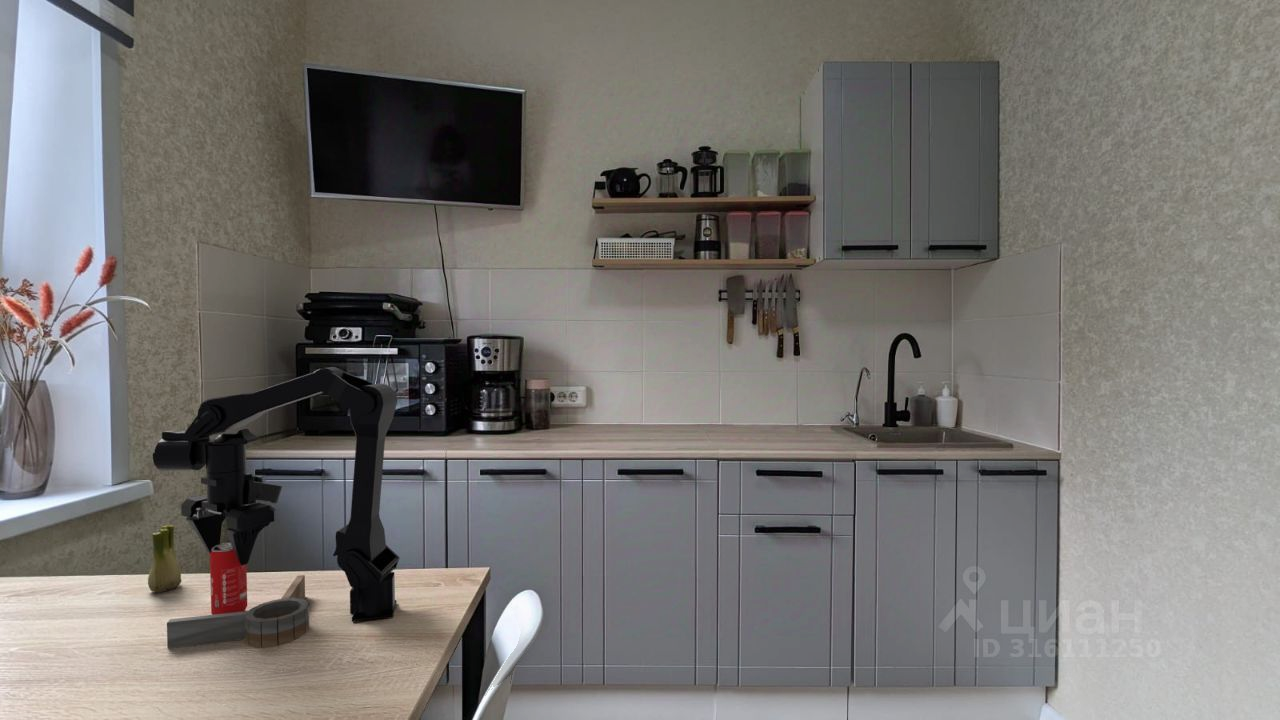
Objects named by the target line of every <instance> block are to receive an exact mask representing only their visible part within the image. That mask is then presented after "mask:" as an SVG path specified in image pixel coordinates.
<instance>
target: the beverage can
mask: <svg viewBox="0 0 1280 720" xmlns="http://www.w3.org/2000/svg"><path fill="white" fill-rule="evenodd" d="M211 550H212V551H211V553H210V554H209V569H210V570H209V574H210V576H209V577H210V582H209V583H210V611H211V612H210V614H211V615H215V614H224V613H234V612H243V611H246V609H247V607H248V579H247V578H248V576H247V575H248V572H247V568H248V567H247V564H245V565H240V564H239V561H238V559H237V557H236V554H235V552H234V549H233V547H232V544H231V542H223V543H220V544H219V545H216V546H214V547H213V548H212V549H211Z"/></svg>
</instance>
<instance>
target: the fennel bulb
mask: <svg viewBox="0 0 1280 720" xmlns="http://www.w3.org/2000/svg"><path fill="white" fill-rule="evenodd" d="M174 533H175V526H174V525H173V524H171V525H170V524H169V525H162V526H160V530H159V532H153V533H152V544H153V545H152V547H153V548H152V549H153V562H152V565H151V567H150V571H149V573H148V577H147V585H148V588H149V590H150V591H151V592H153V593H161V592H168V591H170V590H174V589H176V588H178V587H179V586H180V584H181V583H182V574H181V570H180V567H179V564H178V560H177V556H176V553H175V546H174V544H175V543H174V540H175V538H174V537H175V534H174Z"/></svg>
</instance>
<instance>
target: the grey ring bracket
mask: <svg viewBox="0 0 1280 720" xmlns="http://www.w3.org/2000/svg"><path fill="white" fill-rule="evenodd" d="M305 581H306V575H305V574H303V575H302V574H301V575H297V576H296V577H295V579H294V580H293V581H292V582H291V584H290V586H289V587H288V588H287V590H286V591H285V593H284V594H283V595H282V596H281V598H279V599H273V600H271V601H270V600H269V601H266V602H262V603H260V604H258V605H255V606H254V607H251V608H250V609H248V610H245V611H243V612H234V613H224V614H215V615H212V614H208V615H207V614H205V615H198V616H197V615H196V616H190V617H180V618H179V617H178V618H171V619H169V620H168V621H167V622H166V642H167V643H166V644H167V645H166V646H167V647H166V648H167V649H172V648H182V647H190V646H198V645H208V644H215V643H224V642H232V641H241V640H245V642H246V643H247V645H248V646H249V647H256V648H267V647H276V646H280V645H281V646H282V645H284V644H286V643H290V642H292V641H296V640H297V639H299V638H301V637H302V636H304V635H305V634H307V631H308V630H309V628H310V620H309V619H310V615H309V614H310V612H309V610H310V609H309V602H308V600H305V597H306V582H305Z"/></svg>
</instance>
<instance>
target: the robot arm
mask: <svg viewBox="0 0 1280 720" xmlns="http://www.w3.org/2000/svg"><path fill="white" fill-rule="evenodd" d="M321 394H326V395H327V396H329V397H330V398H331V399H332V400H333V401H335V402H336V403H338V404H340V405H342V406H343V407H346V408H348V411H349V417H350V418H349V419H350V424H351V427H352V429H353V431H354V434H355V453H354V454H355V455H354V466H353V478H352V479H353V480H352V493H351V503H350V506H351V507H350V517H349V521H348V523H347V524H346V525H344V526H343V527H341V528H339V530H337V531H336V533H335V550H334V551H333V552H334V553H333V555H332V556H333V557H336V556H337V557H336V564H337V566H338V567H339V568H340V569H341V570H342V572H344V573H345V578H346V579H347V582H348V583H349V587H351V588H350V590H349V613H350V615H351V622H353V623H355V622H363V621H372V620H373V621H374V620H381V619H389V618H393V617H394V615H395V614H394V613H395V610H396V607H397V600H396V594H395V593H396V592H395V590H396V589H395V588H396V587H395V585H396V584H395V581H396V580H395V572H394V570H396V569H397V568H398V567H397V566H398V564H399V562H400V559H401V558H400V556H399V555H397V553H395V551H393V550H392V549H391V548H390V547H389V546H388V545H387V544H386V543H387V542H386V534H385V528H384V525H383V522H382V521H381V517H380V509H381V508H380V507H381V495H382V494H381V493H382V483H383V482H382V481H383V468H384V467H383V466H384V457H385V456H384V455H385V454H384V453H385V443H386V436H387V433H388V431H389V428H390V427H391V423H392V421H393V420H394V416H395V413H396V407H397V404H398V395H397V392H396V391H395V390H394V389H393V387H392V386H390V385H388V384H385V383H373V382H371V381H369V380H367V379H364V378H362V377H359V376H356V375H354V374H352V373H351V374H350V373H348V372H346V371H344V370H342V369H340V368H338V367H335V366H332V367H321V368H318V369H316V370H315V371H313V372H310V373H307V374H304V375H301V376H298V377H295V378H292V379H289V380H285V381H283V382H280V383H277V384H275V385H274V384H273V385H271V386H269V387H268V386H267V387H265V388H262V389H258V390H256V391H253V392H249V393H248V392H247V393H240V394H235V395H234V394H233V395H227V396H220V397H215V398H214V397H213V398H208V399H206V400H204V401H202V402H201V403H200V404H199V408H198V410H197V415H196V416H195V418H194V420H193V421H192V422H191V423H190V425H189V426H188V427H187V429H186V430H184V431H183V430H177V429H175V430H174V429H172V430H166V431H162V432H161V439H160V440H159V441H158V442H157V444H156V445H155V449H154V452H152V461H153V464H154V467H155V468H156V469H157V470H159V471H161V472H163V471H164V472H165V471H166V472H169V471H175V472H176V471H200V470H202V469H203V468H204V467H205V476H202V477H200V484H204V485H206V494H204V495H197V496H193V497H189V498H186V499H185V500H184V501H183V502H182V503H181V506H180V511H181V513H180V514H181V516H183V517H186V518H185V521H186V522H188V524H189V525H190V526H191V528H192V530H193V531H194V532H195V534H196V535H197V536H198V538H199V539H200V541H201V543H202V545H203V546H204V547H205V549H206V551H207V552H208V554H209V555H210V553H211V551H212V550H211V549H212V548H213V547H214V546H216V545H219V544H221V538H222V526H223V522H224V521H225V524H226V525H227V527H228V528H225V531H226V534H227V536H228V539H229V541H230V542H231V544H232V547H233V549H234V552H235V554H236V557H237V559H238V561H239V564H240V565H245V564H246V565H248V563H249V561H250V557H251V555H252V553H253V550H254V547H255V543H256V541H257V538H258V536H259V534H260V533H261V531H263V529H264V528H266V527H268V526H270V525H271V523H273V522H275V521H276V520H277V519H276V518H277V517H276V511H277V510H276V508H274V507H273V506H271V505H270V504H278V501H279V499H280V495H281V491H282V489H283V485H278V484H273V483H268V482H263V477H262V476H258V475H253V474H252V473H248V472H247V461H246V460H247V452H246V451H247V450H246V448H247V447H246V445H248V444H251V443H255V442H258V441H259V440H260V438H259V437H258V436H257V435H256V434H254V433H252V432H251V431H250V430H249V428H244V429H240V430H238V431H237V432H236V433H226V432H227V431H229V430H233V429H234V430H235V429H238V428H242V427H244V426H246V425H247V424H249V423H250V424H251V422H253V421H255V420H257V419H258V418H260V417H261V416H263V415H264V414H265V413H267V412H269V411H271V410H274V409H277V408H280V407H281V408H282V407H283V406H286V405H289V404H292V403H296V402H298V401H302V400H305V399H308V398H311V397H315V396H317V395H321ZM215 435H218V436H216V438H210V437H212V436H215ZM257 501H263V502H270V504H266V503H265V504H264V503H262V502H257Z"/></svg>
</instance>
